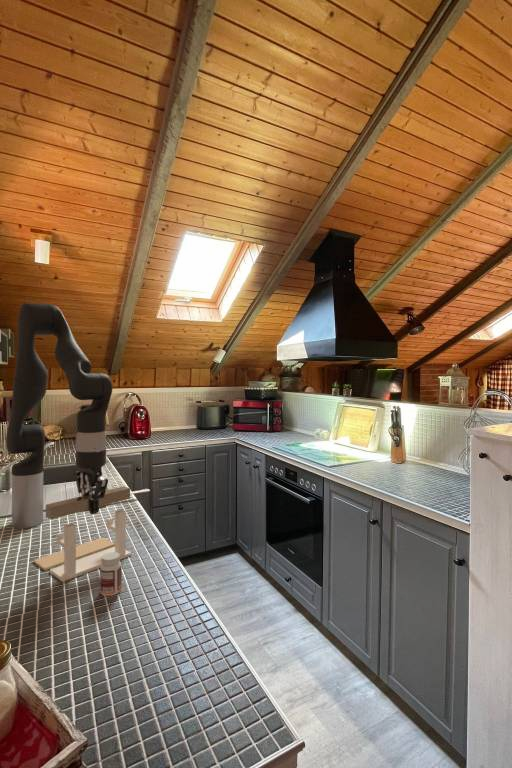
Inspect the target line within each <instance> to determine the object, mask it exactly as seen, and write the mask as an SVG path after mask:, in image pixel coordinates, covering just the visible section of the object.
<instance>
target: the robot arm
mask: <svg viewBox="0 0 512 768" xmlns="http://www.w3.org/2000/svg"><path fill="white" fill-rule="evenodd" d="M36 335H37V336H38V335H40V336H50V335H52V336H54V337H55V338H56V339H57V341H56V345H55V347H54V348H55V349H54V357H55V360H56V362H57V364H58V365H59V366H60V368H61V369H62V371H63V372H64V374H65V376H66V381H67V385H68V388H69V393H70V394H71V395H72V397H74V398H75V399H76V400H79V401H91V400H92V401H91V404H90V405H89V406H88V407H85V408H82V409H80V410H79V411H77V414H76V415H77V416H76V437H75V466H76V467H77V468H79V470H78V471H75V472H74V476H75V482H76V487H77V492H78V494H81V495H80V497H81V496H85V495H90V509H89V510H85V511H84V512H88V511H89V514H90V515H95V514H98V513H99V509H100V507H99V499H100V498H104V495H105V492H106V490H107V488H108V483H109V479H108V478H104V477H103V471H102V467H104V466H105V465H106V464H107V435H106V414H107V412H108V408H109V404H110V401H111V397H112V393H113V383H112V380H111V378H110V376H109V375H107V374H105V373H100V372H96V373H91V372H92V369H93V368H92V367H93V366H92V362H91V361H90V360H89V358H88V357H87V355H85V353H84V352H83V350H82V349H81V347H79V344H77V341H76V339H75V336H74V335H73V332H72V331H71V328H70V326H69V324H68V322H67V319H66V318H65V316H64V314H63V312H62V310H61V309H60V308H59V307H58V306H57V305H56V304H55V305H54V304H48V303H39V302H38V303H37V302H36V303H33V302H25V303H22V305H21V306H20V308H19V311H18V318H17V354H16V361H15V363H16V364H15V368H14V369H15V370H14V376H13V385H12V386H13V387H12V399H11V400H12V401H11V408H10V409H11V410H10V415H9V419H8V420H9V421H8V426H7V430H6V435H5V436H6V439H5V447H6V450H7V452H8V453H10V454H13V455H15V454H17V455H18V454H19V455H20V454H28V453H30V455H29V456H27V457H25V459H22V460H21V461H19V462H16V463H15V464H13V465H12V467H11V527H13V529H28V528H32V527H36V526H39V525H41V524H42V523H43V522H44V464H45V456H44V455H45V444H46V436H45V428H44V426H43V425H41V424H37V423H36V424H24V422H25V420H26V419H27V416H29V414H30V412H31V411H33V410H34V409H35V407H37V405H38V404H39V403H40V402H41V401H42V400H43V399H44V397H45V395H46V393H47V387H48V380H49V373H48V370H47V368H46V366H45V365H44V362H43V361H42V360H41V358H40V357H39V355H38V353H37V351H36V348H35V336H36ZM100 492H101V494H100ZM93 493H94V495H93Z"/></svg>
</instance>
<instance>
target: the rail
mask: <svg viewBox="0 0 512 768" xmlns="http://www.w3.org/2000/svg"><path fill="white" fill-rule="evenodd" d="M130 492H131V488H130V487H127V486H124V485H123V486H120V487H116V488H111V489H110V488H109V489H106V492H105V495H104V498H100V499H99V508H101V507H105V506H104V505H106V506H107V505H108V506H109V505H111V504H114V503H119V502H123V501H126V500H130V499H131V494H130ZM100 494H101V492H100ZM93 495H94V492H93ZM89 509H90V495H85V496H81V495H80V496H78V497H77V496H76V497H73V498H68V499H64V500H59V501H56V502H51V503H47V504H45V518H47V519H50V520H55V519H58V518H63V517H67V516H70V515H74V514H78V513H80V512H86V511H85V510H88V511H90V510H89Z"/></svg>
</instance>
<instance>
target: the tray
mask: <svg viewBox="0 0 512 768" xmlns="http://www.w3.org/2000/svg"><path fill="white" fill-rule="evenodd" d="M112 547H115V542H113V541H111V540H110V539H107V538H105V537H100V538H97V539H94V540H91V541H87V542H84V543H81V544H78V545H76V560H78V559H81V558H84V557H87V556H89V555H92V554H95V553H98V552H101V551H103V550H106V549H109V548H112ZM33 563H34V564H35V565H36V566H38V567H39V568H40V569H41V570H43V571H48V570H50V569H53V568H56V567H58V566H61V565H64V549H63V550H59V551H57V552H53V553H51V554H47V555H45V556H42V557H39V558H35V559H33Z"/></svg>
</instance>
